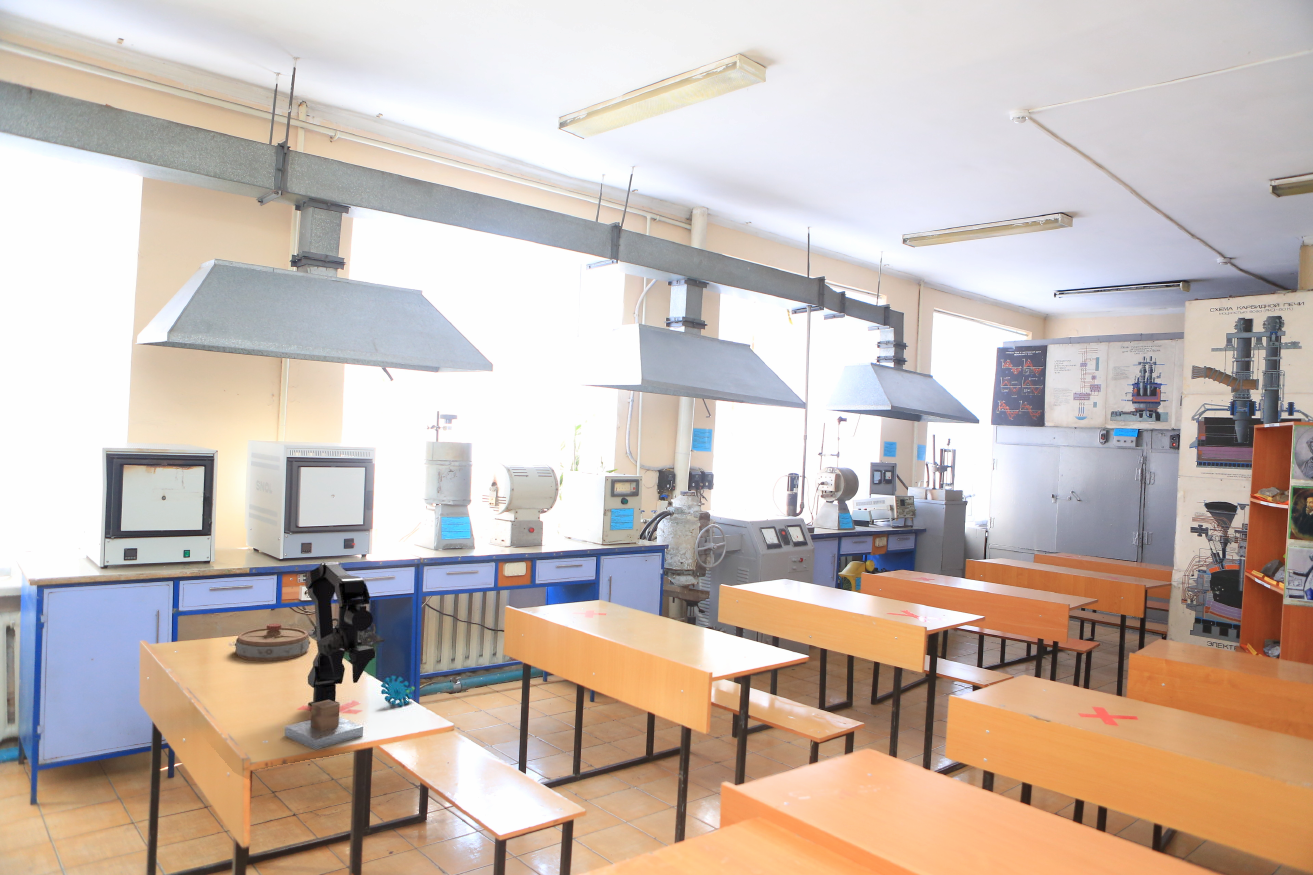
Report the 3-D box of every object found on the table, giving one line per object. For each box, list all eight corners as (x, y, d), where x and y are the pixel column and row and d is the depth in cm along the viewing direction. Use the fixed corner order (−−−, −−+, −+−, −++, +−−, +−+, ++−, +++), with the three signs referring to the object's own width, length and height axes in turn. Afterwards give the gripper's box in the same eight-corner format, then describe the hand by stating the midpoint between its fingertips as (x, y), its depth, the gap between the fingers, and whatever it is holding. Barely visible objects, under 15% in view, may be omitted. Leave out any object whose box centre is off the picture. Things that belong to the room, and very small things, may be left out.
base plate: (284, 735, 222) (285, 726, 222) (332, 722, 233) (332, 713, 233) (314, 749, 214) (315, 739, 214) (362, 735, 225) (363, 726, 225)
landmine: (260, 665, 284) (262, 635, 284) (221, 652, 297) (222, 624, 297) (322, 652, 304) (324, 625, 304) (283, 641, 317) (284, 614, 317)
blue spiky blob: (387, 704, 246) (379, 674, 251) (377, 715, 248) (369, 685, 254) (420, 702, 254) (411, 673, 260) (410, 713, 256) (402, 684, 262)
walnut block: (310, 726, 223) (311, 703, 223) (327, 721, 227) (328, 699, 227) (321, 730, 220) (322, 707, 220) (338, 726, 224) (339, 703, 224)
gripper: (303, 621, 234) (300, 677, 234) (342, 633, 223) (338, 692, 223) (339, 615, 243) (336, 669, 243) (378, 627, 232) (375, 684, 232)
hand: (345, 678), depth 235 cm, fingers open, 9 cm apart
